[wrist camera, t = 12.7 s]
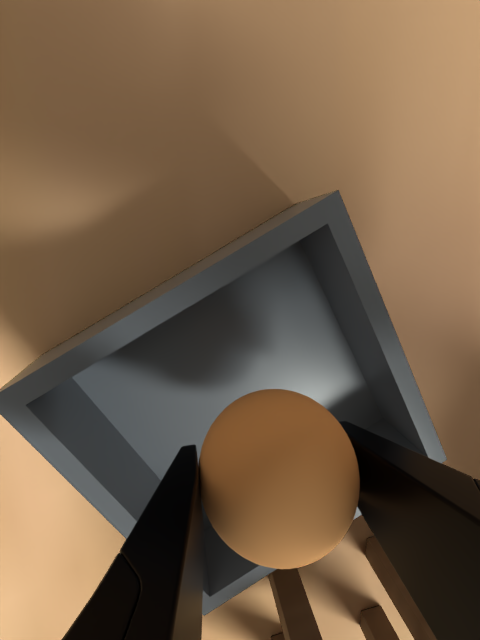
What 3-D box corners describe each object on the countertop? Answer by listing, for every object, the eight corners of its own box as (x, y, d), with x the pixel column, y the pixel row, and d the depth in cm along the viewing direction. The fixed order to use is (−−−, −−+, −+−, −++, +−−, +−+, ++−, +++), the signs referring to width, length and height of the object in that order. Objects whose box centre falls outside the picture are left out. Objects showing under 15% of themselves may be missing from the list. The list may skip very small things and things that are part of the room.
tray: (295, 203, 11) (338, 189, 8) (391, 414, 14) (446, 459, 11) (40, 356, 10) (-14, 399, 7) (198, 535, 13) (203, 616, 11)
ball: (283, 341, 9) (356, 413, 5) (334, 434, 10) (423, 546, 7) (168, 411, 9) (160, 536, 5) (234, 497, 10) (266, 648, 6)
